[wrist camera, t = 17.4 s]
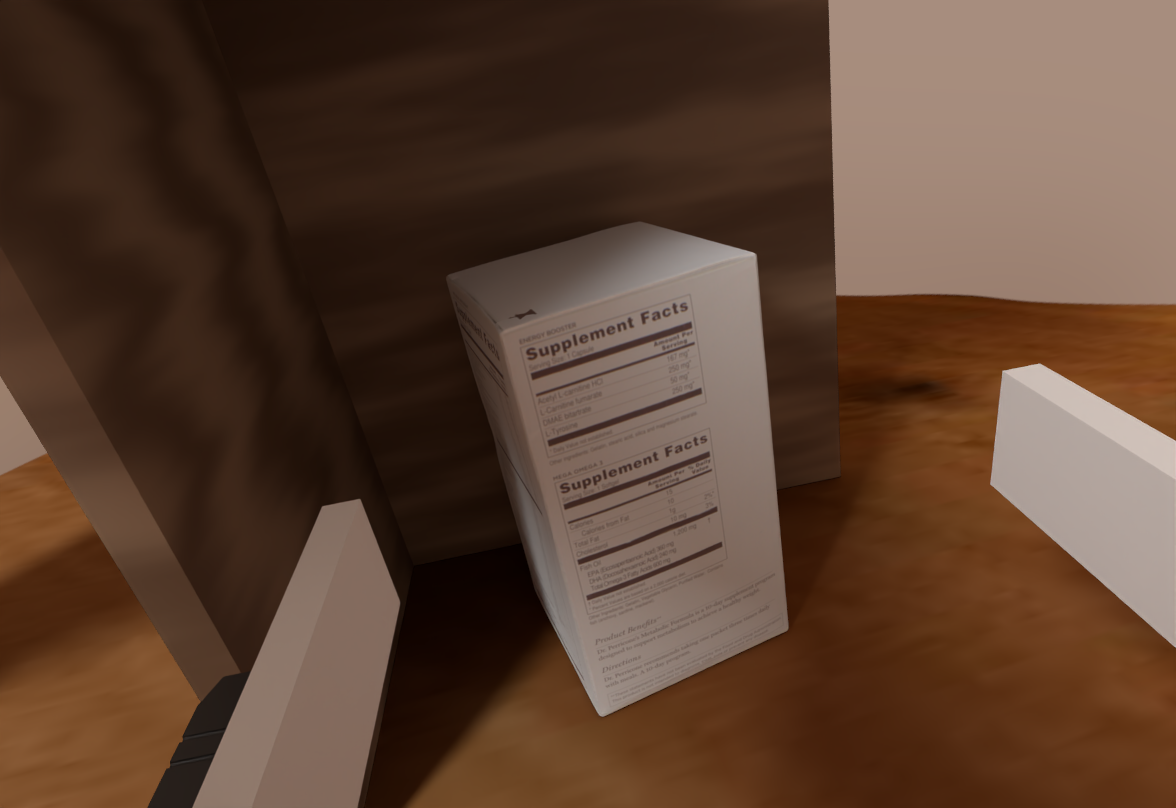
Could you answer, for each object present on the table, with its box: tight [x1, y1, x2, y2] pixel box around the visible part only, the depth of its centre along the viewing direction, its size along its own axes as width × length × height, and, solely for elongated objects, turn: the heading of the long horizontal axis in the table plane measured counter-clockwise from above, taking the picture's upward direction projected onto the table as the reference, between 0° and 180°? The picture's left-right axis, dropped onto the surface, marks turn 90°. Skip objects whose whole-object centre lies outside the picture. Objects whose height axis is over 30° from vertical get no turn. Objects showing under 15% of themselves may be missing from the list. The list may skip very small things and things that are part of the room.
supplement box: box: [446, 221, 788, 717], centre depth 29 cm, size 10×9×17 cm
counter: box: [0, 0, 841, 808], centre depth 25 cm, size 18×26×32 cm
